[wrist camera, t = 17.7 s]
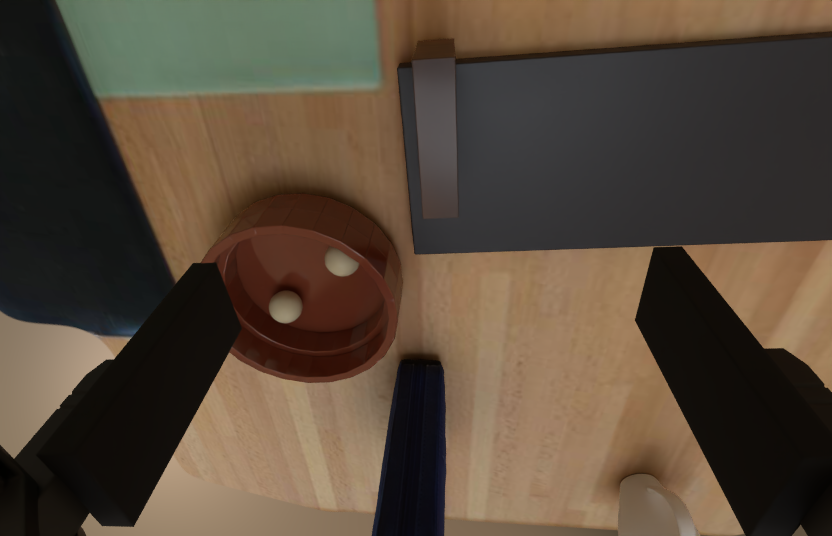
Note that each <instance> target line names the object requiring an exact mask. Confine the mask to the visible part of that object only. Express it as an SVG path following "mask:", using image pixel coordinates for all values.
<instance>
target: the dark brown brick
mask: <svg viewBox="0 0 832 536" xmlns="http://www.w3.org/2000/svg"><path fill="white" fill-rule="evenodd" d="M411 62H412V76H413V90H414V104H415V118H416V132H417V146H418V159H419V173H420V187H421V201H422V215H423V219H436V218H459V198H458V149H457V100H456V56H455V45H454V39H438V40H424V41H418V42H417V45H416V48H415V51H414V54H413V57H412V61H411Z"/></svg>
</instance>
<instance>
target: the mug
mask: <svg viewBox="0 0 832 536" xmlns="http://www.w3.org/2000/svg"><path fill="white" fill-rule="evenodd" d="M618 534H619V536H700V534H699V532H698V530H697V528H696V527H695V525H694V523H693V520H692V517H691V515H690V513H689V511H688V509H687V507H686V505H685V503H684V502H683V501H682V499H681V498H680V497H679V496H678V495H676V494H675V493H673V492H671V491H670V490H667V489H665V488H664V487H663V486H662V485H661V483H660V482H659V481H658V480H657V479H656V478H655V477H654V476H652V475H649V474H635V475H631V476H628V477H626V478H625V479H623V480H622V482H621V484H620V495H619V512H618Z"/></svg>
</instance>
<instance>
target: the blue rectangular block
mask: <svg viewBox="0 0 832 536" xmlns="http://www.w3.org/2000/svg"><path fill="white" fill-rule="evenodd" d="M445 412H446V405H445V384H444V370H443V367H442V365H441V362H440V361H436V360H411V359H404V360H402V361H401V362H400V364H399V367H398V371H397V377H396V382H395V387H394V393H393V399H392V405H391V411H390V417H389V423H388V430H387V437H386V444H385V451H384V457H383V463H382V470H381V478H380V485H379V492H378V500H377V507H376V513H375V519H374V525H373V531H372V536H444V511H445V481H446V438H445Z"/></svg>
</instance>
